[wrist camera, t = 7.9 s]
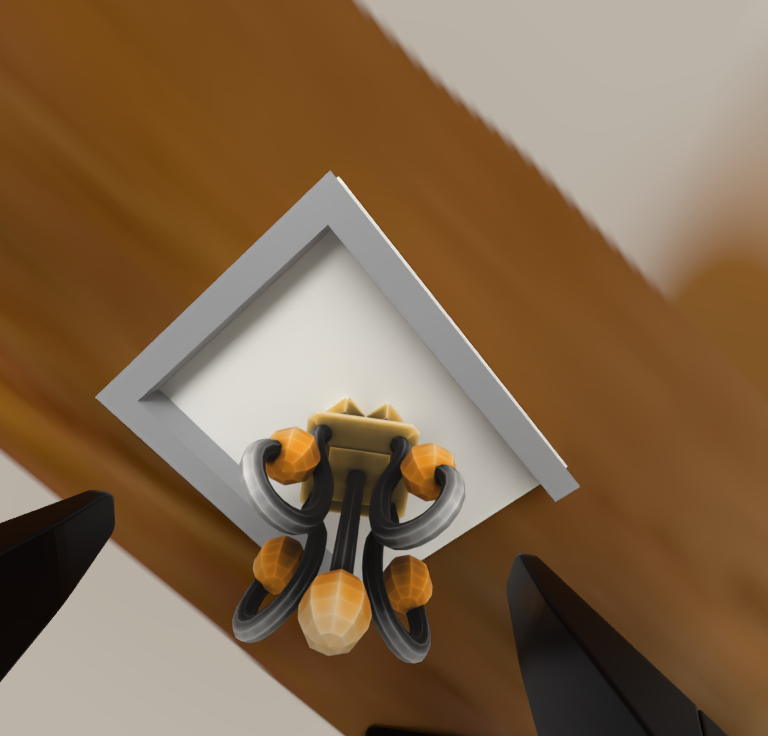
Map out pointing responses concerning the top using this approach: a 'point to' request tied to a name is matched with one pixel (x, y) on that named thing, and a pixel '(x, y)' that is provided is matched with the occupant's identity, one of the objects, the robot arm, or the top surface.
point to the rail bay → (327, 372)
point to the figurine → (347, 528)
